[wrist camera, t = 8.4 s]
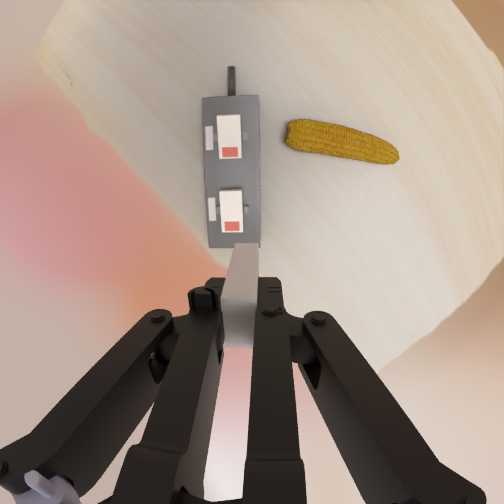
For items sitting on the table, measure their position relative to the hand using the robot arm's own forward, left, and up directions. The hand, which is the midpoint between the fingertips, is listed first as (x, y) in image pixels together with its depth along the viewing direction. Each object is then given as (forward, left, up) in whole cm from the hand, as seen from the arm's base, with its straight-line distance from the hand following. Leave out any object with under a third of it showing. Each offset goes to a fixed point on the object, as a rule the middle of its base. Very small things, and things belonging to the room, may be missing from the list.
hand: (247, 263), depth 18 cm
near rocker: (-9, -4, -27) cm, 28 cm away
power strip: (-6, -4, -32) cm, 33 cm away
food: (-9, +15, -33) cm, 37 cm away
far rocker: (+3, -4, -27) cm, 27 cm away
